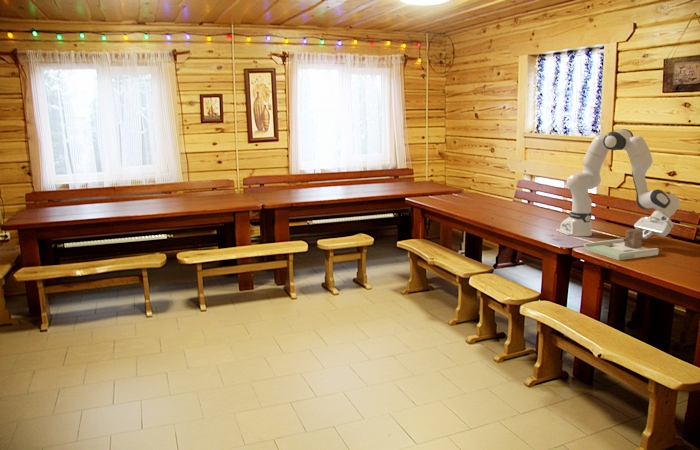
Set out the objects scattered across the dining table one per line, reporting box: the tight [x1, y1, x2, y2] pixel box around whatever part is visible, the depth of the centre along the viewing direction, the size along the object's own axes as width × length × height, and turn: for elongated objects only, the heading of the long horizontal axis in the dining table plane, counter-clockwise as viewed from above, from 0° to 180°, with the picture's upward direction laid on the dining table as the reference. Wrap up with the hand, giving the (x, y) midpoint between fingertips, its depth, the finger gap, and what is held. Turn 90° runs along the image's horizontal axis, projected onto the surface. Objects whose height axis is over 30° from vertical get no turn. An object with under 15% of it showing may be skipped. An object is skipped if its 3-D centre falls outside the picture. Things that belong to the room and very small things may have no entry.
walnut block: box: [624, 229, 643, 249], centre depth 322 cm, size 6×6×9 cm
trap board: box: [583, 238, 659, 261], centre depth 319 cm, size 25×28×4 cm
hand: (643, 237), depth 324 cm, fingers closed
